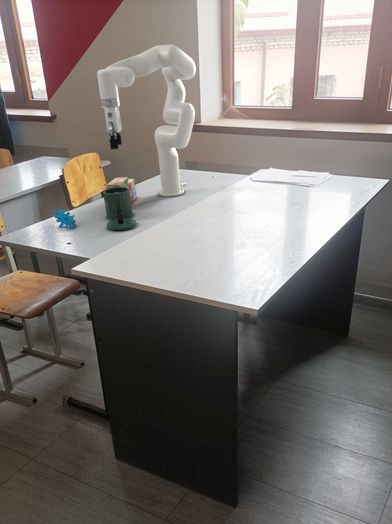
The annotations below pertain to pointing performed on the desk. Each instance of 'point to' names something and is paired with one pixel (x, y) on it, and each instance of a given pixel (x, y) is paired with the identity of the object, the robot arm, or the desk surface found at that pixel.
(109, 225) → the lid
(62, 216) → the gear
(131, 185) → the stack of blocks
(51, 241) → the desk surface
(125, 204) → the green hollow cylinder
